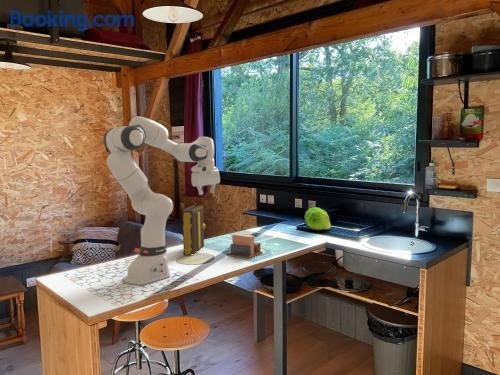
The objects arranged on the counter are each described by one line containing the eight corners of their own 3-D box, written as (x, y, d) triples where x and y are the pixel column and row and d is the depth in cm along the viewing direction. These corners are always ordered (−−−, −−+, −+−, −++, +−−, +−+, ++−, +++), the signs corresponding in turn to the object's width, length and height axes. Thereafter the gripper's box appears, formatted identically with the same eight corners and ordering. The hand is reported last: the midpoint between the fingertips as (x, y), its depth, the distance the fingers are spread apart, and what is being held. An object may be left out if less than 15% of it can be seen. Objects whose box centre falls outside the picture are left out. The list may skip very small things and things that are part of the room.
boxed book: (250, 255, 223) (250, 237, 222) (232, 252, 230) (232, 234, 229) (254, 253, 226) (254, 235, 225) (236, 250, 233) (235, 233, 232)
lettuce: (329, 235, 280) (339, 215, 284) (304, 220, 280) (314, 200, 284) (321, 238, 297) (330, 219, 301) (297, 223, 296) (307, 205, 301)
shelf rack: (250, 258, 220) (250, 247, 219) (226, 254, 228) (226, 244, 228) (262, 253, 230) (262, 242, 230) (238, 249, 239) (238, 239, 238)
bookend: (249, 255, 222) (248, 246, 221) (230, 253, 228) (230, 244, 228) (250, 255, 223) (249, 246, 222) (231, 252, 229) (231, 243, 228)
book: (195, 255, 227) (194, 211, 225) (180, 255, 229) (179, 210, 227) (207, 245, 249) (206, 205, 246) (193, 245, 251) (192, 204, 248)
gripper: (213, 166, 228) (213, 191, 229) (189, 168, 210) (189, 195, 212) (222, 166, 224) (223, 191, 226) (198, 168, 207) (199, 196, 209)
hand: (206, 193), depth 219 cm, fingers open, 8 cm apart
